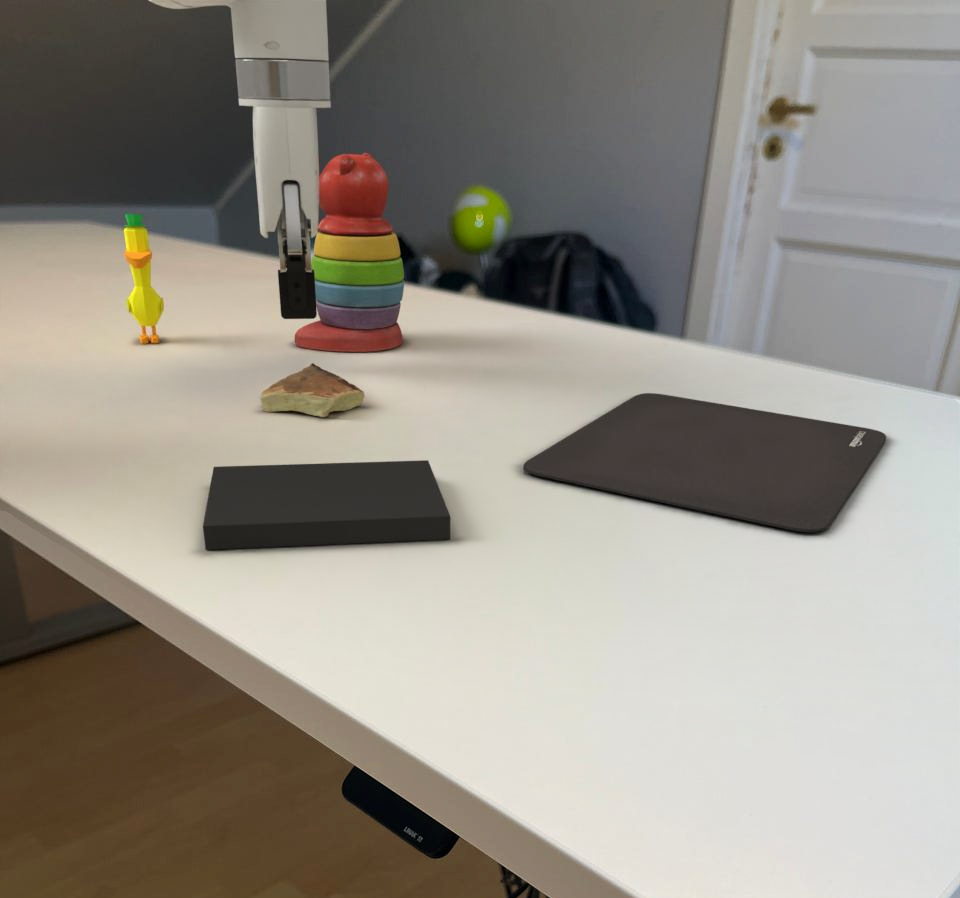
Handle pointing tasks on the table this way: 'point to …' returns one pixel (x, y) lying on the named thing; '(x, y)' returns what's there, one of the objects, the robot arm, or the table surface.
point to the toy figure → (141, 278)
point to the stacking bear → (355, 262)
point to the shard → (312, 393)
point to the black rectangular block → (324, 505)
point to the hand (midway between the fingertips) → (299, 316)
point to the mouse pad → (717, 459)
